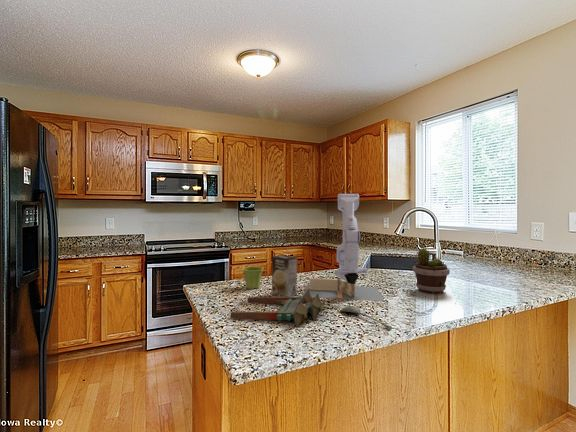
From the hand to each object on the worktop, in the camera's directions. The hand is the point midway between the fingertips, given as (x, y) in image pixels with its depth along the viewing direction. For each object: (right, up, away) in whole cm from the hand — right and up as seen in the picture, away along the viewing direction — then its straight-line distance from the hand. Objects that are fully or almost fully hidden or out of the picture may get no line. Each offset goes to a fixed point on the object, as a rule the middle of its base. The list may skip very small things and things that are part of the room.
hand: (351, 291), depth 132 cm
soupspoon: (-1, -3, -27) cm, 27 cm away
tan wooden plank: (-2, -1, 0) cm, 2 cm away
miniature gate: (-29, -3, -21) cm, 36 cm away
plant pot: (-42, -2, +13) cm, 44 cm away
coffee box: (-28, -2, +1) cm, 28 cm away
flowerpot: (+37, -2, +8) cm, 38 cm away
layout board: (-3, -2, +4) cm, 5 cm away
